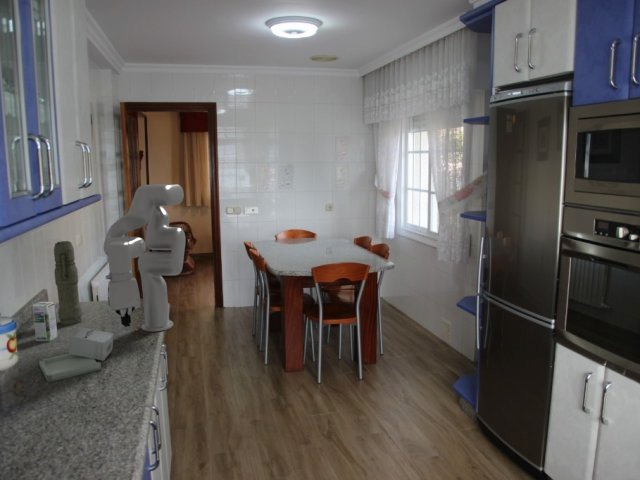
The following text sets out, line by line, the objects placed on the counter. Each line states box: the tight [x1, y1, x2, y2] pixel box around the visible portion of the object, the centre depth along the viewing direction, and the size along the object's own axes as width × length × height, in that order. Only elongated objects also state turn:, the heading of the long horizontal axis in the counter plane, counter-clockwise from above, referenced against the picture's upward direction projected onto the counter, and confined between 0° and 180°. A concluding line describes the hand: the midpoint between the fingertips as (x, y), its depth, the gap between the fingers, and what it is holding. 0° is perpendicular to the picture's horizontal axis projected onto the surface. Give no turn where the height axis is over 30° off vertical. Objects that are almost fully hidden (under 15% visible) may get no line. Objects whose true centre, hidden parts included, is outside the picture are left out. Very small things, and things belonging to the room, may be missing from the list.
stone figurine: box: [53, 240, 83, 326], centre depth 220 cm, size 9×12×35 cm
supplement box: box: [68, 326, 114, 361], centre depth 183 cm, size 7×7×13 cm
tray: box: [38, 353, 102, 384], centre depth 175 cm, size 16×16×2 cm
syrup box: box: [32, 301, 58, 342], centre depth 202 cm, size 6×6×14 cm
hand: (126, 325), depth 186 cm, fingers closed
